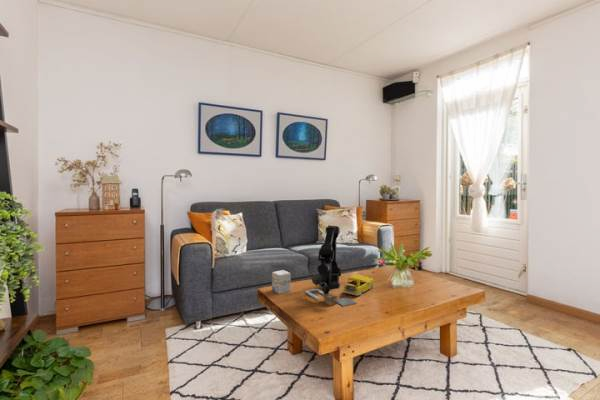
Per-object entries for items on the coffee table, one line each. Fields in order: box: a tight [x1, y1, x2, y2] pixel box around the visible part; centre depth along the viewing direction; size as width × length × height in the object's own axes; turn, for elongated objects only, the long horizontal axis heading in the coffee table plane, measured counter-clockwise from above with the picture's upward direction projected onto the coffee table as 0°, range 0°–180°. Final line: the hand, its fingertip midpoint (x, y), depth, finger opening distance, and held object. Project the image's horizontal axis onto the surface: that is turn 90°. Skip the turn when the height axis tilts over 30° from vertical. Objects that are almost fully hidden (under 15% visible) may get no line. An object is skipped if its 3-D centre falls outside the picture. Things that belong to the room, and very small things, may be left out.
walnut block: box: [323, 292, 338, 306], centre depth 177 cm, size 4×6×4 cm
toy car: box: [343, 274, 375, 296], centre depth 198 cm, size 12×25×10 cm, turn 143°
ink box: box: [271, 269, 292, 295], centre depth 196 cm, size 9×8×12 cm
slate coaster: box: [337, 297, 357, 307], centre depth 178 cm, size 9×9×1 cm
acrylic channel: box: [305, 288, 324, 301], centre depth 189 cm, size 8×14×1 cm, turn 28°
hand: (325, 296), depth 181 cm, fingers closed
